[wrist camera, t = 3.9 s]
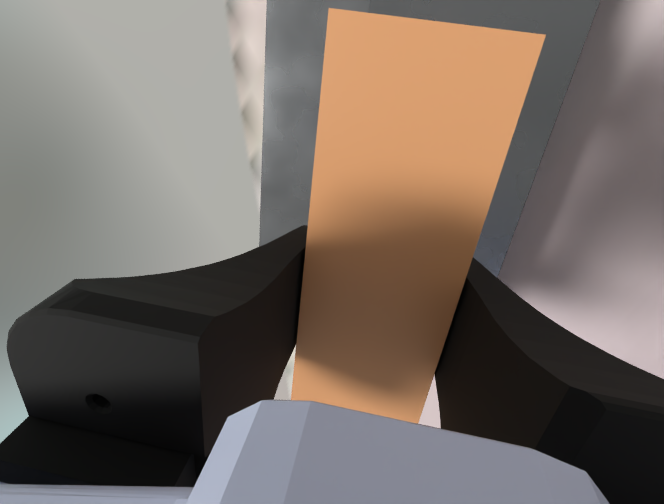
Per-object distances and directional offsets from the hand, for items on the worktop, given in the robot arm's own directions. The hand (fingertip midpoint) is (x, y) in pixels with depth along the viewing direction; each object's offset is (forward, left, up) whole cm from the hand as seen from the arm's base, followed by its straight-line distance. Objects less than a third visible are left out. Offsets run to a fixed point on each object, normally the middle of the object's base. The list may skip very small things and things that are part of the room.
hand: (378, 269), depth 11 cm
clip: (0, 0, -2) cm, 3 cm away
